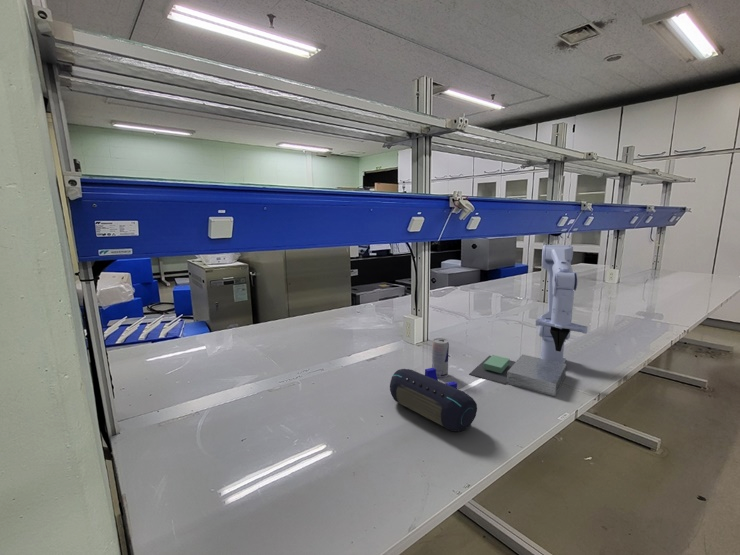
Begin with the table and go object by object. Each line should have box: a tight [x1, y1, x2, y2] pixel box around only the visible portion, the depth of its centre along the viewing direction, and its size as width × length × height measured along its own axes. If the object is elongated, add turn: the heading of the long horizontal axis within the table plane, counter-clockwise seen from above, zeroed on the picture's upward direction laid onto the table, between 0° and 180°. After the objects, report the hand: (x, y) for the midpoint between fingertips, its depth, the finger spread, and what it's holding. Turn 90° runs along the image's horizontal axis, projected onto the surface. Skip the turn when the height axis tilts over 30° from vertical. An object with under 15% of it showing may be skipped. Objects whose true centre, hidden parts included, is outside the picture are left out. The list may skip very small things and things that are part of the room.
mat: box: [468, 355, 516, 385], centre depth 123 cm, size 20×12×1 cm, turn 142°
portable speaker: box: [389, 368, 478, 432], centre depth 94 cm, size 25×10×10 cm, turn 42°
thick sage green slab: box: [484, 354, 511, 373], centre depth 123 cm, size 9×6×3 cm, turn 142°
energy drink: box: [431, 338, 450, 379], centre depth 118 cm, size 5×5×12 cm
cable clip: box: [424, 367, 458, 389], centre depth 106 cm, size 12×4×6 cm, turn 25°
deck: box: [506, 354, 567, 397], centre depth 115 cm, size 18×14×4 cm
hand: (558, 350), depth 113 cm, fingers closed
